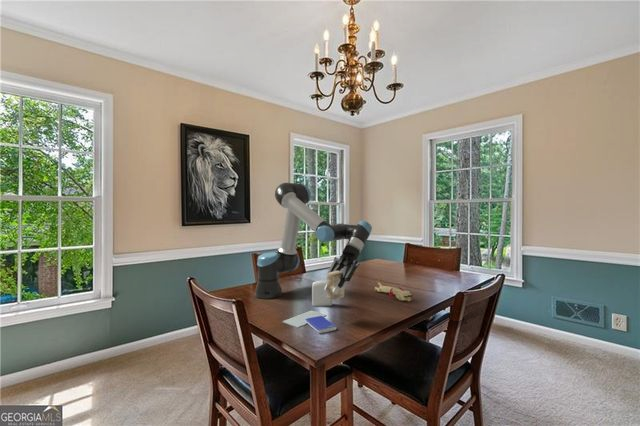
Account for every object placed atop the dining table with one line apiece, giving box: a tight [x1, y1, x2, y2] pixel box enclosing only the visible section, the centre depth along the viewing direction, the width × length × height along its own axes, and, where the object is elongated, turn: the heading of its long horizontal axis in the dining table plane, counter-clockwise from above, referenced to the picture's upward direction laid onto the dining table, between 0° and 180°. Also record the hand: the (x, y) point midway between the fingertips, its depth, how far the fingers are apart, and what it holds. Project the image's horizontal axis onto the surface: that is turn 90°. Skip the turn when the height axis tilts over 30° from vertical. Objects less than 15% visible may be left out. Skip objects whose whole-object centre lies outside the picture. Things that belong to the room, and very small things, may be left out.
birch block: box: [326, 270, 345, 301], centre depth 132 cm, size 4×7×11 cm, turn 137°
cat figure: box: [373, 278, 413, 302], centre depth 165 cm, size 10×9×25 cm
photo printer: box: [311, 280, 333, 307], centre depth 152 cm, size 10×4×12 cm, turn 90°
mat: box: [282, 310, 327, 329], centre depth 134 cm, size 10×18×1 cm, turn 138°
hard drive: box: [305, 316, 337, 334], centre depth 125 cm, size 2×8×12 cm
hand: (330, 291), depth 129 cm, fingers closed on birch block, 4 cm apart
